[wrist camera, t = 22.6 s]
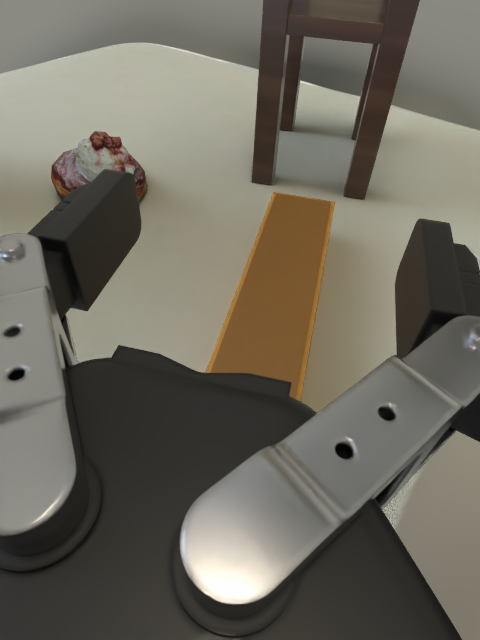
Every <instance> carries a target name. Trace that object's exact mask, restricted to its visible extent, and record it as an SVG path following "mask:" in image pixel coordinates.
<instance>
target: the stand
mask: <svg viewBox="0 0 480 640" xmlns="http://www.w3.org/2000/svg"><path fill="white" fill-rule="evenodd" d="M419 1H420V0H263V15H262V30H261V46H260V61H259V77H258V93H257V109H256V124H255V140H254V156H253V171H252V182H255V183H261V184H268V185H271V184H272V182H273V179H274V177H275V170H276V160H277V150H278V141H279V131H280V130H287V131H292V130H293V127H294V124H295V116H296V109H297V101H298V93H299V85H300V77H301V70H302V62H303V54H304V45H305V38H306V37H314V38H324V39H333V40H342V41H352V42H361V43H371V44H372V49H371V53H370V57H369V62H368V66H367V71H366V75H365V80H364V84H363V88H362V93H361V97H360V101H359V106H358V110H357V115H356V119H355V123H354V128H353V132H352V139H353V140H356V142H355V146H354V150H353V154H352V159H351V163H350V167H349V171H348V176H347V180H346V184H345V190H344V196H346V197H352V198H359V199H365V195H366V192H367V188H368V185H369V181H370V177H371V174H372V170H373V167H374V163H375V160H376V156H377V152H378V149H379V145H380V142H381V138H382V134H383V131H384V127H385V124H386V120H387V116H388V113H389V109H390V106H391V102H392V98H393V95H394V91H395V88H396V84H397V80H398V77H399V73H400V69H401V66H402V62H403V59H404V55H405V52H406V48H407V45H408V41H409V37H410V34H411V30H412V26H413V23H414V19H415V16H416V12H417V9H418V5H419Z"/></svg>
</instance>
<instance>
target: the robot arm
mask: <svg viewBox="0 0 480 640" xmlns="http://www.w3.org/2000/svg"><path fill="white" fill-rule="evenodd" d="M140 231H141V216H140V209H139V203H138V196H137V189H136V183H135V178H134V176H133V174H132V173H129V172H123V171H116V170H110V169H104V170H103V171H102V172H101V173H100V174H99V175H98V176H97V177H96V178H95V179H94V180H93V181H92V182H91V183H90V184H89V183H87V184H85V185H83V186H81V187H79V188H77V189H74V190H72V191H71V192H70V193H69V194H68V195H67V196H66V197H65V198H64V199H63V200H62V203H59V204H58V205H57V206H56V207H55V208H54V211H52V210H51V211H50V212H49V213H48V214H47V215H46V216H45V217H44V218H43V219H42V220H41V221H40V222H39V223H38V224H37V225H36V226H35V227H34V228H33V229H32V230H31V231H30V232H29V233H28V234H19V233H18V234H9V235H4V236H1V237H0V640H462V639H461V637H460V635H459V634H458V632H457V630H456V629H455V627H454V625H453V624H452V622H451V620H450V619H449V617H448V616H447V614H446V613H445V611H444V609H443V608H442V606H441V604H440V603H439V601H438V599H437V598H436V596H435V595H434V593H433V591H432V590H431V588H430V587H429V585H428V584H427V582H426V580H425V578H424V577H423V575H422V574H421V572H420V570H419V569H418V567H417V566H416V564H415V562H414V561H413V559H412V558H411V556H410V554H409V553H408V552H407V550H406V548H405V546H404V545H403V543H402V542H401V540H400V538H399V537H398V535H397V533H396V532H395V530H394V528H393V527H392V525H391V524H390V522H389V520H388V519H387V517H386V516H385V514H384V512H383V511H382V509H383V508H384V507H385V506H386V505H387V504H388V503H389V502H390V501H391V500H392V499H393V498H394V497H395V496H396V494H397V493H398V492H399V491H400V490H401V489H402V488H403V486H404V485H405V484H406V483H407V482H408V481H409V480H410V478H411V477H412V476H413V475H414V474H415V473H416V472H417V471H418V470H419V469H420V468H421V467H422V466H423V465H424V464H425V463H426V462H427V461H428V460H429V458H430V457H431V456H432V455H433V454H434V453H435V452H436V451H437V450H438V449H439V448H440V447H441V446H442V445H443V444H444V443H445V442H446V441H447V440H448V439H449V438H450V437H451V436H452V435H453V434H454V433H455V432H456V431H459V432H461V433H463V434H465V435H467V436H469V437H471V438H473V439H475V440H477V441H479V442H480V275H479V273H480V270H479V266H478V262H477V258H476V257H475V256H474V255H473V254H472V253H471V251H470V250H469V249H468V248H467V247H466V246H465V245H461V244H455V243H453V238H452V232H451V227H450V224H449V223H446V222H439V221H433V220H426V219H419V220H418V221H417V222H416V224H415V227H414V229H413V232H412V234H411V237H410V239H409V242H408V245H407V247H406V250H405V252H404V255H403V257H402V260H401V263H400V265H399V268H398V272H397V276H396V282H395V304H396V342H397V355H394V356H391V357H390V358H388V359H387V360H385V361H384V362H383V363H382V364H380V365H379V366H378V367H376V368H375V369H374V370H373V371H371V372H370V373H369V374H367V375H366V376H365V377H364V378H362V379H361V380H360V381H358V382H357V383H356V384H355V385H353V386H352V387H351V388H349V389H348V390H347V391H346V392H344V393H343V394H342V395H340V396H339V397H338V398H337V399H335V400H334V401H333V402H331V403H330V404H329V405H328V406H326V407H325V408H324V409H322V410H321V411H320V412H319V413H316V412H315V411H313V410H312V409H311V408H310V407H308V406H307V405H305V404H304V403H302V402H301V401H299V400H297V399H295V398H293V397H291V396H289V394H290V389H291V384H292V382H288V381H283V380H278V379H274V378H269V377H264V376H260V375H255V374H250V373H201V372H197V371H194V370H192V369H190V368H188V367H186V366H184V365H182V364H179V363H177V362H175V361H173V360H171V359H169V358H167V357H165V356H163V355H161V354H157V353H153V352H148V351H143V350H139V349H134V348H129V347H125V346H120V345H118V347H117V349H116V351H115V352H114V354H113V356H112V357H111V358H101V359H94V360H89V361H85V362H81V363H78V360H77V356H76V351H75V347H74V343H73V338H72V334H71V329H70V325H69V321H68V318H67V315H66V313H67V312H68V310H69V309H70V308H74V309H79V310H84V311H88V310H89V308H90V307H91V305H92V304H93V303H94V301H95V300H96V298H97V297H98V295H99V294H100V293H101V291H102V290H103V288H104V287H105V285H106V284H107V283H108V281H109V280H110V278H111V277H112V275H113V274H114V273H115V271H116V270H117V268H118V267H119V266H120V264H121V263H122V261H123V260H124V258H125V257H126V256H127V254H128V253H129V251H130V250H131V248H132V247H133V246H134V244H135V243H136V241H137V240H138V238H139V235H140Z"/></svg>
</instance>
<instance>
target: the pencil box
mask: <svg viewBox="0 0 480 640" xmlns="http://www.w3.org/2000/svg"><path fill="white" fill-rule="evenodd" d="M334 204H335V202H333V201H326V200H320V199H314V198H308V197H301V196H295V195H289V194H283V193H276V192H274V193H273V195H272V198H271V201H270V203H269V206H268V209H267V211H266V214H265V216H264V219H263V222H262V224H261V227H260V230H259V232H258V235H257V238H256V240H255V243H254V246H253V248H252V251H251V254H250V256H249V259H248V261H247V264H246V267H245V269H244V272H243V275H242V277H241V280H240V283H239V285H238V288H237V291H236V293H235V296H234V299H233V301H232V304H231V307H230V309H229V312H228V314H227V317H226V320H225V322H224V325H223V328H222V330H221V333H220V336H219V338H218V341H217V344H216V346H215V349H214V352H213V354H212V357H211V359H210V362H209V365H208V367H207V370H206V373H250V374H255V375H260V376H264V377H269V378H274V379H278V380H283V381H288V382H292V384H291V389H290V394H289V396H291V397H293V398H295V399H297V400H299V401H301V396H302V390H303V384H304V378H305V372H306V367H307V361H308V355H309V349H310V343H311V338H312V332H313V326H314V320H315V314H316V309H317V303H318V297H319V291H320V285H321V280H322V274H323V268H324V262H325V256H326V251H327V245H328V239H329V233H330V227H331V222H332V216H333V210H334Z"/></svg>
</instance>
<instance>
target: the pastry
mask: <svg viewBox="0 0 480 640" xmlns="http://www.w3.org/2000/svg"><path fill="white" fill-rule="evenodd" d="M104 169H110V170H116V171H123V172H129V173H132V174H133V176H134V178H135V183H136V189H137V196H138V200H139V199H140V198H141V197H142V195H143V194H144V193H145V192H146V190H147V182H146V177H145V172H144V170H143V169H142V167H141V166H140V165H139V163H138V162H137V161H136V160H135V159H134V158H133V157H132V156H131V155H130V154H129V153H128V151H127V150H126V148H125V147H124V146H123V145H122V143H121V139H120V137H110V136H109V135H108V134H107V133H106V132H96V131H95V132H94V133H93V134H92V135H91V136H90V138H89V139H84V140H82V141H81V142H79V144H78V148H76V149H73V150H70V151H67V152H64V153H63V154H62V155H61V156H60V157H59V158H58V159H57V161H56V162H55V163H54V164H53V165H52V172H51V178H52V182H53V184H54V186H55V189H56V191H57V193H58V195H59V196H60V197H61V198H62V199H64V198H65V197H66V196H67V195H68V194H69V193H70V192H71V191H72V190H74V189H77V188H79V187H81V186H83V185H85V184H87V183H89V184H90V183H91V182H92V181H93V180H94V179H95V178H96V177H97V176H98V175H99V174H100V173H101V172H102V171H103V170H104Z"/></svg>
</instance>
